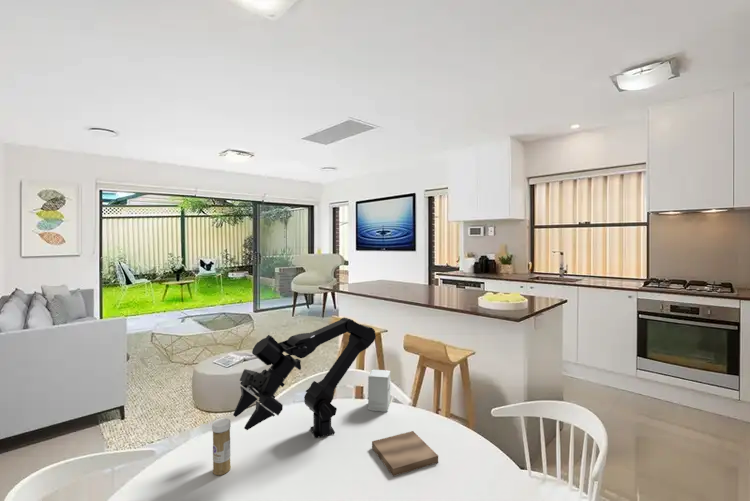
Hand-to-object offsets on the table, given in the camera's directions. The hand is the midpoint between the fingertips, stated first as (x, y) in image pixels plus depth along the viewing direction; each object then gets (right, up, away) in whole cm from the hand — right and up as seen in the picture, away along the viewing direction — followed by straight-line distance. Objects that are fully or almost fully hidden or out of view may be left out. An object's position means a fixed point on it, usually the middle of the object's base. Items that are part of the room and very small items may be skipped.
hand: (239, 422), depth 99 cm
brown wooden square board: (+46, -11, +4) cm, 47 cm away
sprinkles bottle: (-4, -12, -3) cm, 13 cm away
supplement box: (+39, -11, +34) cm, 53 cm away
